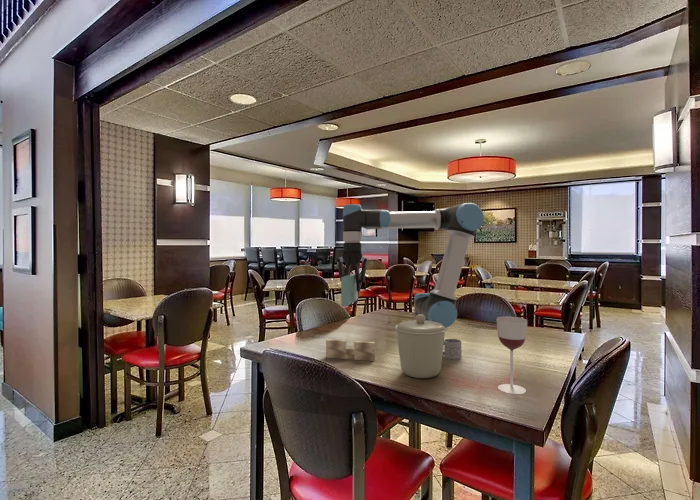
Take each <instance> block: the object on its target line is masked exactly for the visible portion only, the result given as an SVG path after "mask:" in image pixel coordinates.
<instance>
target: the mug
mask: <svg viewBox="0 0 700 500" xmlns="http://www.w3.org/2000/svg"><path fill="white" fill-rule="evenodd" d="M462 353H463V351H462V340H461V339H457V338H446V339H445V338H444V346H443V355H442V356H444V358H445V359H447V360H461V359H462V355H463V354H462Z"/></svg>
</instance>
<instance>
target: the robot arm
mask: <svg viewBox="0 0 700 500" xmlns="http://www.w3.org/2000/svg"><path fill="white" fill-rule="evenodd" d="M342 208H343V211H342V228H343V229H342V231H343V232H342V235H343V236H342V241H343V243H342V244H343V245H342V247H343V249H342V251H343V253H342V255H341V256H340V257H337V258H336V261H337V264H338V271H339V281H340V282H341V277H344V276H347V275H351V266H353V268H354V274H355V277H356V283H355V284H354V300H357V301H358V298H359V292H360V291H361V283H363V282H365V279H366V272H367V264H368V262H369V258H368V257H365V256H364V255H363V254H362V243H361V241H362V229H366V230H379V229H380V230H381V229H429V228H431V229H432V228H433V229H434V230H436V231H437V230H438V231H440V230H441V231H447V233H448V236H449V237H448V239H447V243H446V246H445V251H444V253H443V258H442V262H441V265H440V268H439V272H438V274H437V279H436V282H435V286H434V289H432V290H430V291H429V292H425V293H423V292H422V293H419V292H418V293H416V294H414V300H413V302H414V320H416V319H415V317H416V315H418V314H422V315H424V316H425V318H426V319H425V320H428V321H434V322H438V323H440V324H442V325H443V326H445V327H446V328H449V327H451V326H452V325H454V323H456V322H455V321H456V320H457V317H458V310H457V306H456V305H457V301H458V300H457V297H456V295H455V293H456V290H457V287H458V283H459V280H460V276H461V272H462V268H463V264H464V261H465V258H466V254H467V251H468V247H469V244H470V241H471V240H473V239H475V237H476V233H477V230H478V229H480V228H481V227H482V226H483V224H484V220H485V216H484V212H483V210H482V208H481V207H480V206H479V205H477V204H476V203H474V202H464V203H461V204H457V205H453V206H448V207H445V208H435V209H434V210H432V211H431V210H430V211H427V210H426V211H425V210H422V211H389V210H388V209H363V208H362V205H361V204H359V203H358V204H357V203H353V204H352V203H351V204H348V203H347V204H344V206H343V207H342ZM343 262H344V263H345V268H344V263H343ZM360 262H362V263H361V271H360V265H359V263H360ZM344 269H345V271H344ZM360 272H361V273H360Z"/></svg>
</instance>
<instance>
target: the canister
mask: <svg viewBox="0 0 700 500" xmlns="http://www.w3.org/2000/svg"><path fill="white" fill-rule="evenodd" d="M415 319H416V320H415ZM425 319H426V318H425V316H424V315H422V314H418V315H416V317H415V316H414V319H413V320H411V319H408V320H403V321H401V322H399V323H398V324H396V325H394V329H395V331H396V336H397V337H396V338H397V345H398V355H399V362H400V367H401V370H402V372H403V373H404V374H405V375H406V376H408V377H411V378H415V379H429V378H430V379H431V378H434V377H437V376H438V375H439V373H440V372H441V368H442V363H443V356H444V355H443V352H444V340H445V335H446V334H445V333H446V332H447V330H448V329H447V328H448V327H445V326H443V325H442V324H440V323H438V322H434V321H428V320H425Z"/></svg>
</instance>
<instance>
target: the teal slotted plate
mask: <svg viewBox="0 0 700 500" xmlns="http://www.w3.org/2000/svg"><path fill="white" fill-rule="evenodd" d="M340 282H341V283H340V285H341V287H340V288H341V291H340V293H341V299H340V301H341V302H340V303H341V305H340V306H342V307H344V306H345V307H348V306H350V305H352V304H353V303H355V302H357V301H358V299H357V300H354V284H355V283H356V277H355V273H352V274H351V273H350V275H347V276H345V275H344V277H341V281H340Z"/></svg>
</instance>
